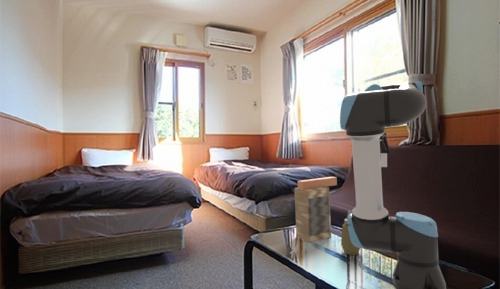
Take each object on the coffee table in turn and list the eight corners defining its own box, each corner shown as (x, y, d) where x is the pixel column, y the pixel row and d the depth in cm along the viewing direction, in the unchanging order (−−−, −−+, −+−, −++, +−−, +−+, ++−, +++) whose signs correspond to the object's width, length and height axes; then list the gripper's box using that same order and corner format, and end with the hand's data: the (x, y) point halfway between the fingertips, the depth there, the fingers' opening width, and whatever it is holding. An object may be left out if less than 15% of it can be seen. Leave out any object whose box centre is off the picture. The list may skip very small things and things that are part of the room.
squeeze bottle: (363, 256, 120) (361, 213, 120) (342, 256, 122) (340, 213, 121) (359, 249, 128) (357, 208, 128) (340, 249, 129) (338, 208, 129)
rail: (331, 184, 155) (331, 176, 155) (337, 185, 151) (336, 177, 151) (297, 188, 145) (297, 180, 145) (302, 189, 142) (302, 181, 141)
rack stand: (318, 232, 154) (316, 185, 154) (331, 237, 145) (329, 187, 145) (296, 236, 148) (294, 188, 148) (309, 242, 139) (306, 190, 139)
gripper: (382, 125, 146) (382, 167, 144) (353, 118, 131) (352, 165, 129) (397, 123, 140) (397, 167, 138) (368, 116, 125) (368, 165, 123)
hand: (376, 166), depth 133 cm, fingers open, 13 cm apart
